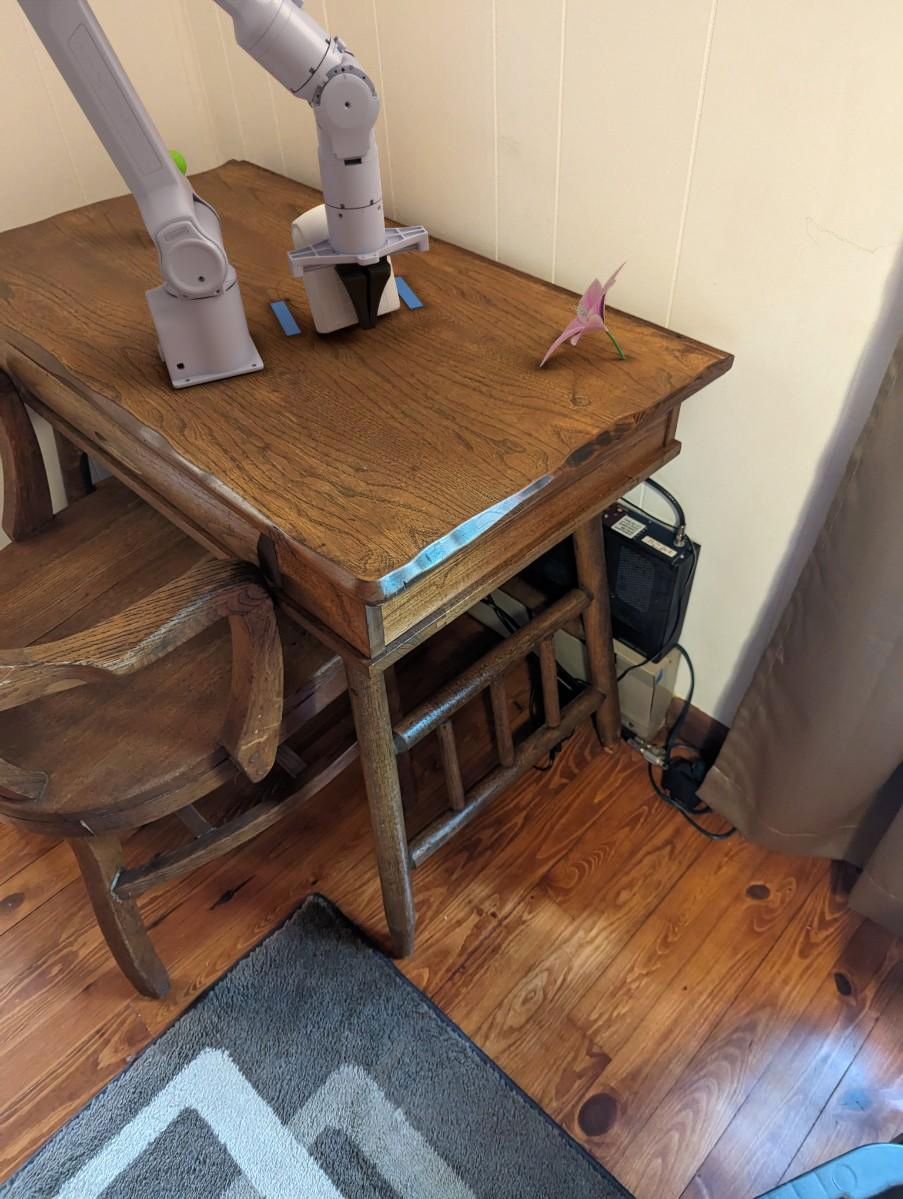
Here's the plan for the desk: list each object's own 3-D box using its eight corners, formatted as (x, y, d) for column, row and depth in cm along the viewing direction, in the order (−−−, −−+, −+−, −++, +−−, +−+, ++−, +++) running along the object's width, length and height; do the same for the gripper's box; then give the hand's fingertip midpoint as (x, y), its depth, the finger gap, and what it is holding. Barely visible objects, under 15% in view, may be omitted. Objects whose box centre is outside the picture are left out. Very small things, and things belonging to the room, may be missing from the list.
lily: (603, 325, 98) (565, 252, 93) (687, 321, 89) (651, 240, 84) (541, 397, 95) (498, 326, 90) (622, 401, 86) (580, 323, 80)
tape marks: (287, 336, 97) (287, 335, 97) (270, 304, 102) (270, 303, 102) (423, 306, 100) (423, 305, 100) (400, 277, 106) (400, 276, 106)
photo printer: (389, 304, 101) (363, 189, 94) (407, 308, 98) (381, 190, 91) (311, 332, 97) (278, 214, 91) (326, 337, 94) (293, 215, 87)
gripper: (290, 227, 81) (312, 357, 91) (436, 199, 84) (442, 327, 94) (273, 199, 85) (295, 326, 95) (412, 174, 89) (420, 299, 98)
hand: (367, 325), depth 95 cm, fingers closed
